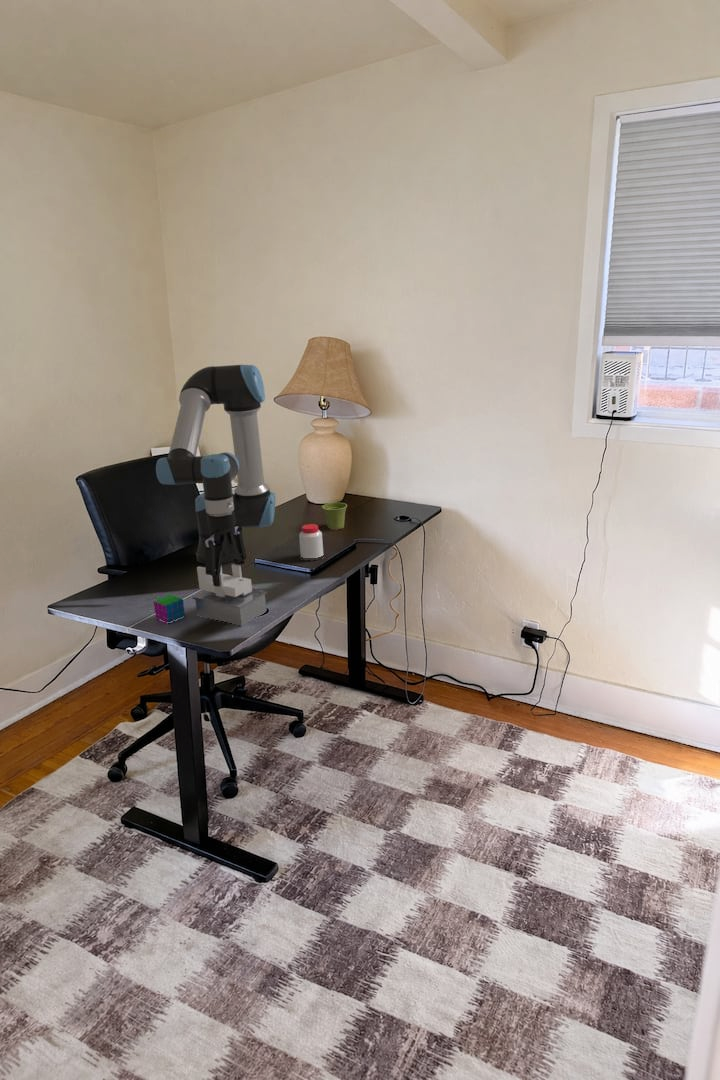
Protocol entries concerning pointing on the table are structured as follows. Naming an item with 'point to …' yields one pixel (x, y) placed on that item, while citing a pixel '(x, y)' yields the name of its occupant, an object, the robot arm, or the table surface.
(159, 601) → the puzzle toy
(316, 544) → the pill bottle
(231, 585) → the bracket
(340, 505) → the plant pot
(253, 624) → the table surface
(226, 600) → the gray rectangular block
